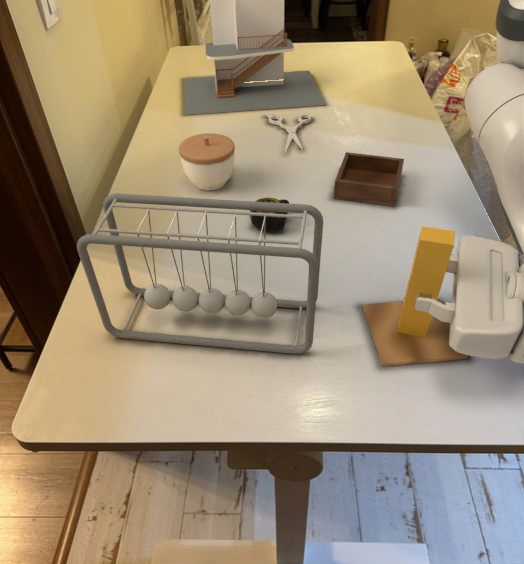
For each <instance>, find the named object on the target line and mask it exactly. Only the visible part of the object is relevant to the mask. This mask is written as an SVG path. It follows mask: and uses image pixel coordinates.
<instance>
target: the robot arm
mask: <svg viewBox="0 0 524 564" xmlns="http://www.w3.org/2000/svg"><path fill="white" fill-rule="evenodd" d="M495 29H496V39H495V61H496V64H493V65H490V66H488V67H486V68H484V69H483V70H482V71H480V72H479V73H478V74H477V75H476V76H475V77H474V78H473V79H472V80H471V82H470V83H469V85H468V86H467V89H466V92H465V96H464V108H465V112H466V116H467V117H466V118H467V120H468V123H469V126H470V128H471V132H472V134H473V135H474V137H475V140H476V142H477V144H478V146H479V147H480V149H481V152H482V153H483V154H484V157H485V159H486V161H487V163H488V166H489V169H490V172H491V174H492V176H493V179H494V183H495V187H496V190H497V193H498V196H499V201H500V205H501V208H502V213H503V215H504V218H505V221H506V223H507V227H508V230H509V231H510V234H511V236H512V239H513V241H514V243H515V246H516V248H515V247H513V246H512V245H510V244H508V243H505V242H502V241H500V240H499V241H498V240H494V239H490V238H486V237H483V236H482V237H481V236H477V235H476V236H475V235H465V236H462V237H460V239H459V241H458V243H457V247H456V250H455V254H452V253H451V256H450V260H449V263H448V266H447V269H446V273H450V274H453V276H452V277H453V279H452V294H451V302H448V301H446V302H445V303H443V302H442V303H440V302H438V301H436V300H434V299H432V294H424V293H418V294H417V298H416V302H415V309H416V310H419V311H424V312H428V313H429V314H431V315H432V316H434V317H435V318H437V319H438V320H440V321H442V322H448V323H450V335H449V346H450V347H451V348H453V349H454V350H455V351H457V352H458V353H461V354H465V355H468V356H470V357H476V358H481V359H487V360H488V359H489V360H503V359H506V358H507V357H508V359H509V360H510V361H511V362H513V363H516V364H523V365H524V0H500V1H499V3H498V7H497V10H496V17H495Z"/></svg>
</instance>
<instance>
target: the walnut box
mask: <svg viewBox="0 0 524 564" xmlns="http://www.w3.org/2000/svg"><path fill="white" fill-rule="evenodd" d="M404 162H405V158H402V157H401V158H400V157H391V156H382V155H373V154H365V153H357V152H349V151H348V152H347V151H346V152H345V153H344V156H343V159H342V162H341V165H340V166H339V169H338V173H337V175H336V177H335V180H334V189H333V200H340V201H348V202H355V203H363V204H369V205H377V206H383V207H384V206H386V207H391V208H394V207H395V205H396V201H397V196H398V192H399V187H400V183H401V177H402V174H403V168H404V164H405V163H404Z"/></svg>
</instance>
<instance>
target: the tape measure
mask: <svg viewBox="0 0 524 564" xmlns="http://www.w3.org/2000/svg"><path fill="white" fill-rule="evenodd" d="M254 202H271V203H288V204H290V201H289V200H288V199H277V198H274V197H262V198H259V199H257V200H255V201H254ZM249 212H255V213H272V214H288V215H289V213H287V212H271V211H254V210H249ZM286 219H287V218H285V217H268V216H266V230H265V232H269V231H270V232H271V231H274V232H275V231H277V232H278V231H283V230H284V229H285V227H286V226H285V225H286ZM249 220H250V222H251V224H252V226H254V228H256V229H258V230H262V231H264V225H263V222H264V216H252V215H249ZM262 226H263V229H262Z"/></svg>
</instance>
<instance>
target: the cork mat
mask: <svg viewBox="0 0 524 564" xmlns="http://www.w3.org/2000/svg"><path fill="white" fill-rule="evenodd" d="M437 301H438V302H440V303H442V304H443V302H442V300H441V298H439V297H438V299H437ZM403 302H404V300H403V301H391V302H378V303H367V304H362V307H361V308H362V311H363V314H364V317H365V320H366V323H367V326H368V329H369V331H370V335H371V338H372V341H373V343H374V347H375V349H376V352H377V356H378V358H379V362H380V365H381V366H382V367H390V366H392V367H393V366H401V365H403V366H404V365H413V364H414V365H415V364H425V363H435V362H446V361H448V362H449V361H459V360H467V359H469V355H465V354H461V353H458V352H457V351H455V350H454V349H453V348H451V347H450V346H449V335H450V323H448V322H442V321H440V320H438V319H437V318H435V317H434V316H432V319H431V322H430V325H429V328H428V332H427V335H426V338H424V337H419V336H413V335H408V334H403V333H398V332H397V331H398V325H399V319H400V315H401V310H402V306H403Z"/></svg>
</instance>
